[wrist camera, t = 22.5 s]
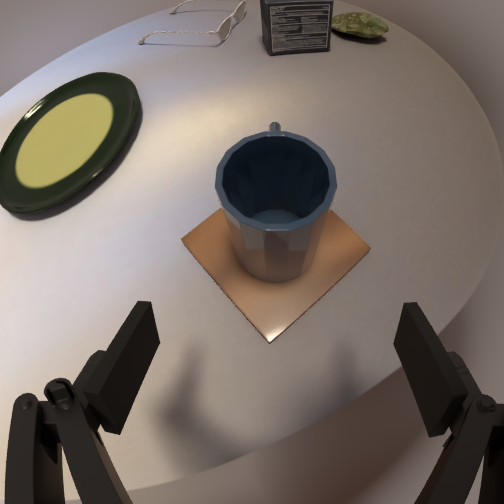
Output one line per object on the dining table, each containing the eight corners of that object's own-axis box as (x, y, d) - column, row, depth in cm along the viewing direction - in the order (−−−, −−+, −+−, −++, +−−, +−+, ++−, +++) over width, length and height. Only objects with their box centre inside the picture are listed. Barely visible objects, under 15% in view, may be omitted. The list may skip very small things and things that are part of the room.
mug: (318, 283, 31) (342, 230, 20) (233, 283, 31) (210, 231, 20) (312, 183, 35) (324, 104, 24) (238, 183, 35) (223, 105, 24)
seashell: (332, 7, 49) (369, -11, 41) (356, 30, 53) (393, 16, 45) (321, 34, 48) (362, 15, 40) (347, 59, 52) (388, 44, 43)
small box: (318, 34, 48) (321, -14, 38) (330, 52, 45) (336, 0, 36) (261, 38, 48) (258, -11, 38) (269, 56, 45) (266, 3, 36)
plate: (40, 96, 48) (34, 89, 46) (164, 71, 46) (160, 60, 44) (-19, 222, 38) (-29, 215, 36) (113, 220, 36) (103, 210, 34)
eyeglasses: (220, 48, 47) (217, 29, 43) (135, 46, 50) (130, 31, 47) (248, 12, 52) (247, -4, 48) (172, 11, 55) (168, -3, 52)
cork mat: (369, 251, 32) (371, 248, 32) (269, 343, 30) (269, 343, 29) (279, 167, 37) (279, 163, 36) (182, 242, 34) (180, 239, 33)
